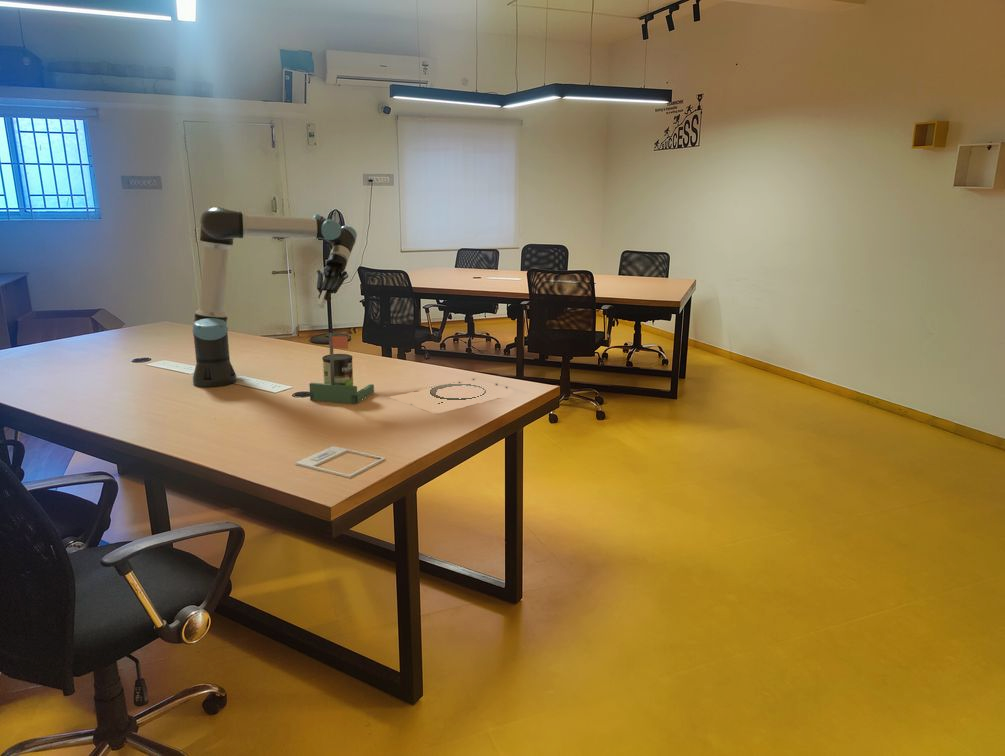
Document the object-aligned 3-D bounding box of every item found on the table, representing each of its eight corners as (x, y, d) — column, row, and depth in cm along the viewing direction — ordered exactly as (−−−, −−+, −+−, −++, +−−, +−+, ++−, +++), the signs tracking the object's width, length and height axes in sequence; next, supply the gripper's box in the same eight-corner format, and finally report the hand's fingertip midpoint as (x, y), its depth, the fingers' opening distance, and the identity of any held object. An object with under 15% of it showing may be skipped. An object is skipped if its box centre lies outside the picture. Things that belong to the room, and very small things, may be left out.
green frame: (331, 389, 244) (328, 324, 238) (374, 392, 241) (372, 327, 235) (310, 400, 230) (306, 332, 224) (355, 404, 226) (353, 335, 220)
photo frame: (333, 445, 185) (385, 457, 177) (333, 449, 185) (385, 461, 177) (295, 461, 172) (349, 475, 164) (295, 465, 172) (349, 479, 165)
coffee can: (359, 393, 240) (358, 355, 236) (343, 400, 230) (342, 360, 227) (335, 390, 243) (333, 352, 239) (318, 397, 234) (316, 358, 230)
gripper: (356, 266, 269) (339, 312, 257) (326, 264, 272) (308, 311, 260) (350, 253, 263) (332, 300, 251) (320, 252, 265) (301, 299, 254)
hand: (320, 305), depth 255 cm, fingers closed
